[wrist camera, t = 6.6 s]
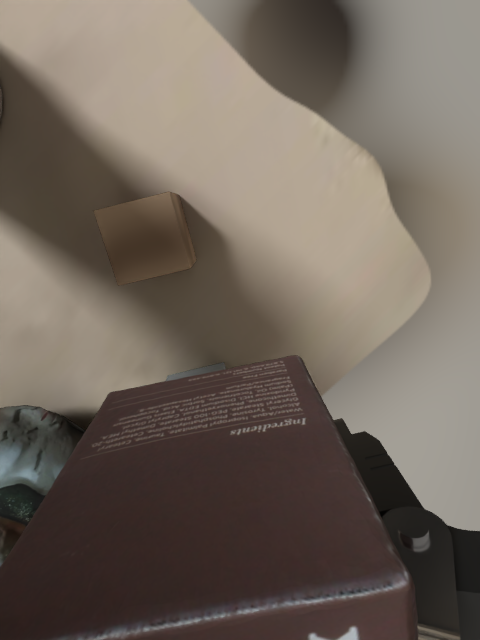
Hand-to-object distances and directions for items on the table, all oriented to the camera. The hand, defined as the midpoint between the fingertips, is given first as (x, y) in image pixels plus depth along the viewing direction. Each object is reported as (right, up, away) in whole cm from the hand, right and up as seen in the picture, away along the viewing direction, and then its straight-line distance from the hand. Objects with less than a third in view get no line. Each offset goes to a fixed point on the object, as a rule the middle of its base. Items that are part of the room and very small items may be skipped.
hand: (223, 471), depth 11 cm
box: (0, 0, +1) cm, 1 cm away
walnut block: (-6, +11, +18) cm, 22 cm away
